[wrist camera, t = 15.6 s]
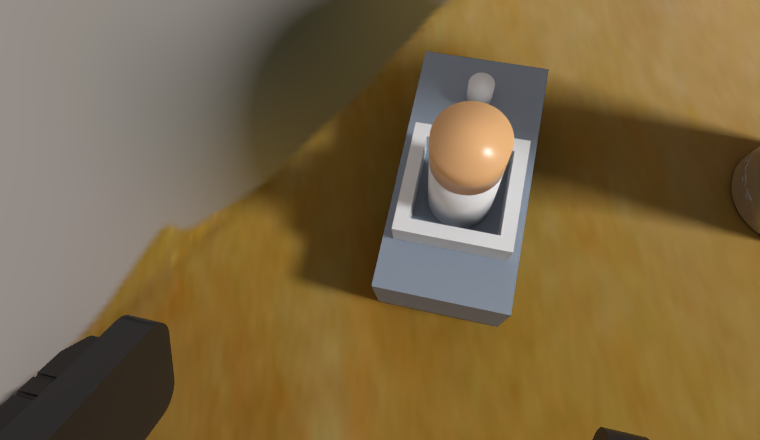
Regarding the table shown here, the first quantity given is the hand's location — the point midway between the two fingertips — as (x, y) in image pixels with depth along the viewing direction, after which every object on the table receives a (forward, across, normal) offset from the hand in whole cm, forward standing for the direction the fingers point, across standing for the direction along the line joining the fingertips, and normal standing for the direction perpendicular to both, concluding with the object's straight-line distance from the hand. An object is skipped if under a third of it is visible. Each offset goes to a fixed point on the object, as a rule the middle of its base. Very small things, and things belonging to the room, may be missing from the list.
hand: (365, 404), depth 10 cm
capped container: (+30, -1, +9) cm, 31 cm away
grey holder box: (+36, -1, +13) cm, 38 cm away
